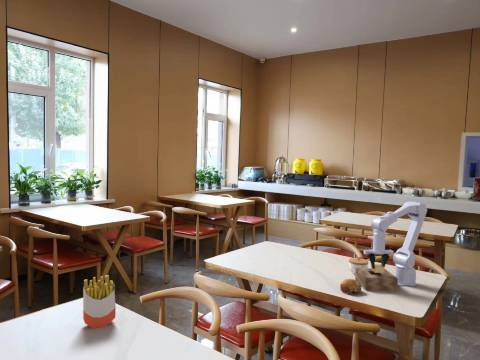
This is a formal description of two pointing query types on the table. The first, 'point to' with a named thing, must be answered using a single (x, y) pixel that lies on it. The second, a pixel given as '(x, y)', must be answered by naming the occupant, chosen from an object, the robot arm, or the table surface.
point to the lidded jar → (357, 264)
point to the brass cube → (378, 268)
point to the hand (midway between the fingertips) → (377, 268)
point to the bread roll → (350, 287)
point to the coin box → (376, 280)
